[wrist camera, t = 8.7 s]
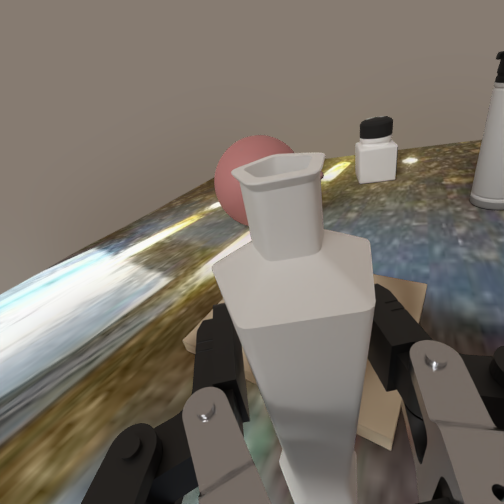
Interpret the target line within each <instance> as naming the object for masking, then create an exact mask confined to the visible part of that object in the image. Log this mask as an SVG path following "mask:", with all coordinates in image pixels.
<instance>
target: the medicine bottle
mask: <svg viewBox="0 0 504 504" xmlns="http://www.w3.org/2000/svg"><path fill="white" fill-rule="evenodd" d="M392 129H393V119H392V118H390V117H387V116H380V117H373V118H369V119H366V120H364V121H363V122H361V124H360V142H358V143H356V147H355V148H356V153H355V154H356V176H357V178H358V181H359V183H360V184H365V183H374V182H382V181H391V180H395V179H396V168H397V153H398V145H397V144H396V143H395V142H394V141H393V140H392V139H391V138H392Z"/></svg>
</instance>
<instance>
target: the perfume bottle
mask: <svg viewBox="0 0 504 504" xmlns="http://www.w3.org/2000/svg"><path fill="white" fill-rule="evenodd" d="M324 159H325V154H324V153H316V152H315V153H287V154H275V155H270V156H267V157H264V158H262V159H259V160H256V161H254V162H251V163H249V164H246V165H243V166H241V167H238V168H236V169H234V170H232V171H231V174H232V175H233V177H234V178H236V179H237V180H238V181H239V182H240V187H241V192H242V196H243V201H244V206H245V211H246V215H247V220H248V225H249V230H250V234H251V239H252V241H251V242H249V243H247V244H246V245H244V246H243V247H241V248H239V249H238V250H236V251H234V252H233V253H231V254H229V255H228V256H226V257H225V258H223V259H221V260H220V261H218V262H217V263H215V264H214V265H213V266H212V271H213V273H214V276H215V278H216V281H217V283H218V286H219V289H220V291H221V294H222V296H223V299H224V301H225V304H226V306H227V309H228V311H229V314H230V317H231V319H232V322H233V324H234V327H235V329H236V332H237V334H238V337H239V339H240V342H241V345H242V347H243V350H244V352H245V355H246V357H247V360H248V362H249V365H250V368H251V370H252V373H253V375H254V378H255V380H256V383H257V385H258V388H259V390H260V393H261V396H262V398H263V401H264V403H265V406H266V408H267V411H268V413H269V416H270V418H271V421H272V424H273V426H274V429H275V431H276V434H277V436H278V439H279V441H280V444H281V447H282V449H283V450H282V453H281V456H280V460H279V463H280V467H281V469H282V472H283V475H284V477H285V480H286V482H287V485H288V488H289V490H290V493H291V495H292V498H293V501H294V503H295V504H357V456H356V452H355V450H354V446H355V440H356V433H357V426H358V419H359V412H360V405H361V398H362V392H363V385H364V378H365V371H366V364H367V357H368V350H369V343H370V337H371V330H372V323H373V316H374V309H375V302H376V299H375V289H374V278H373V268H372V258H371V248H370V242H369V240H367V239H365V238H361V237H357V236H352V235H348V234H343V233H339V232H335V231H330V230H326V229H324V228H323V211H322V195H321V179H320V172H321V170H322V167H323V163H324Z"/></svg>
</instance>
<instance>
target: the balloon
mask: <svg viewBox="0 0 504 504" xmlns="http://www.w3.org/2000/svg"><path fill="white" fill-rule="evenodd" d="M287 153H294V152H293V150H292V149H291V148H290V147H289V146H288V145H286V144H285V143H284V142H282V141H280V140H278V139H276V138H273V137H270V136H264V135H255V136H249V137H246V138H243V139H241V140H239V141H237V142H235V143H234V144H233V145H231V146H230V147H229V148H228V149H227V150H226V151H225V153H224V154H223V155H222V157H221V159H220V161H219V163H218V165H217V168H216V172H215V191H216V195H217V198H218V200H219V202H220V204H221V206H222V208H223V209H224V210H225V211H226V213H227V214H228V215H229V216H230V217H232V218H233V219H234V220H236V221H238V222H239V223H242V224H244V225H247V226H249V225H248V220H247V215H246V211H245V206H244V201H243V196H242V192H241V187H240V182H239V181H238V180H237V179H236V178H234V177H233V175H232V174H231V171H232V170H234V169H236V168H238V167H241V166H243V165H246V164H249V163H251V162H254V161H256V160H259V159H262V158H264V157H267V156H270V155H275V154H287ZM323 176H324V174H323V172H320V179H322V178H323Z"/></svg>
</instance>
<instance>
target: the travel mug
mask: <svg viewBox="0 0 504 504" xmlns="http://www.w3.org/2000/svg"><path fill="white" fill-rule="evenodd" d="M496 59H501V61H500V64H499V68H498V71H497V73H498V76H497V77H496V80H495V83H494V87H495V88H494V89H493V92H492V96H491V101H490V106H489V111H488V115H487V120H486V125H485V129H484V134H483V139H482V143H481V148H480V153H479V157H478V162H477V167H476V171H475V176H474V181H473V185H472V191H471V195H470V202H471V203H472V204H473V205H475V206H477V207H480V208H484V209H490V210H504V51H503V52H499V53H498V54H497V57H496Z"/></svg>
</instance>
